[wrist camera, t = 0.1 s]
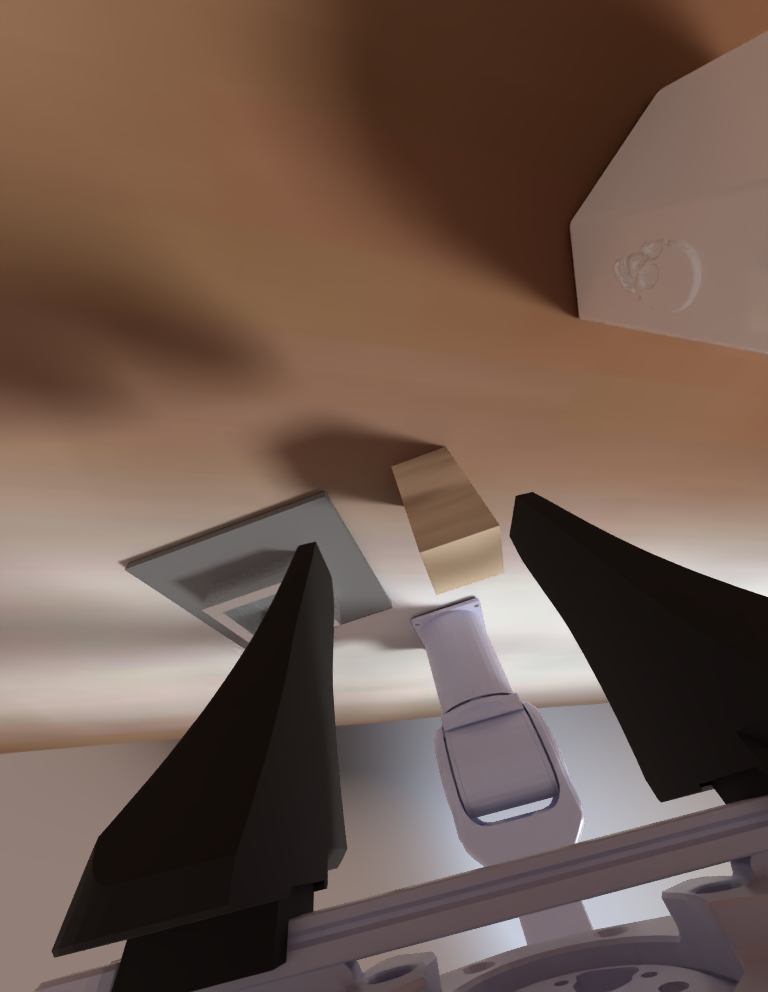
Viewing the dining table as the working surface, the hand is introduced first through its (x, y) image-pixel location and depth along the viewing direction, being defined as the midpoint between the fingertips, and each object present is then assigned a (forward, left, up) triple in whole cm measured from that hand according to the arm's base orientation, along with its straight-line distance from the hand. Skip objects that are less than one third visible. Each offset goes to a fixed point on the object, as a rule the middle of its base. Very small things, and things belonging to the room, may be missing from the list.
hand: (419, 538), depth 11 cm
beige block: (-5, -2, -10) cm, 11 cm away
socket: (-11, +13, -10) cm, 20 cm away
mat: (-11, +13, -10) cm, 20 cm away
